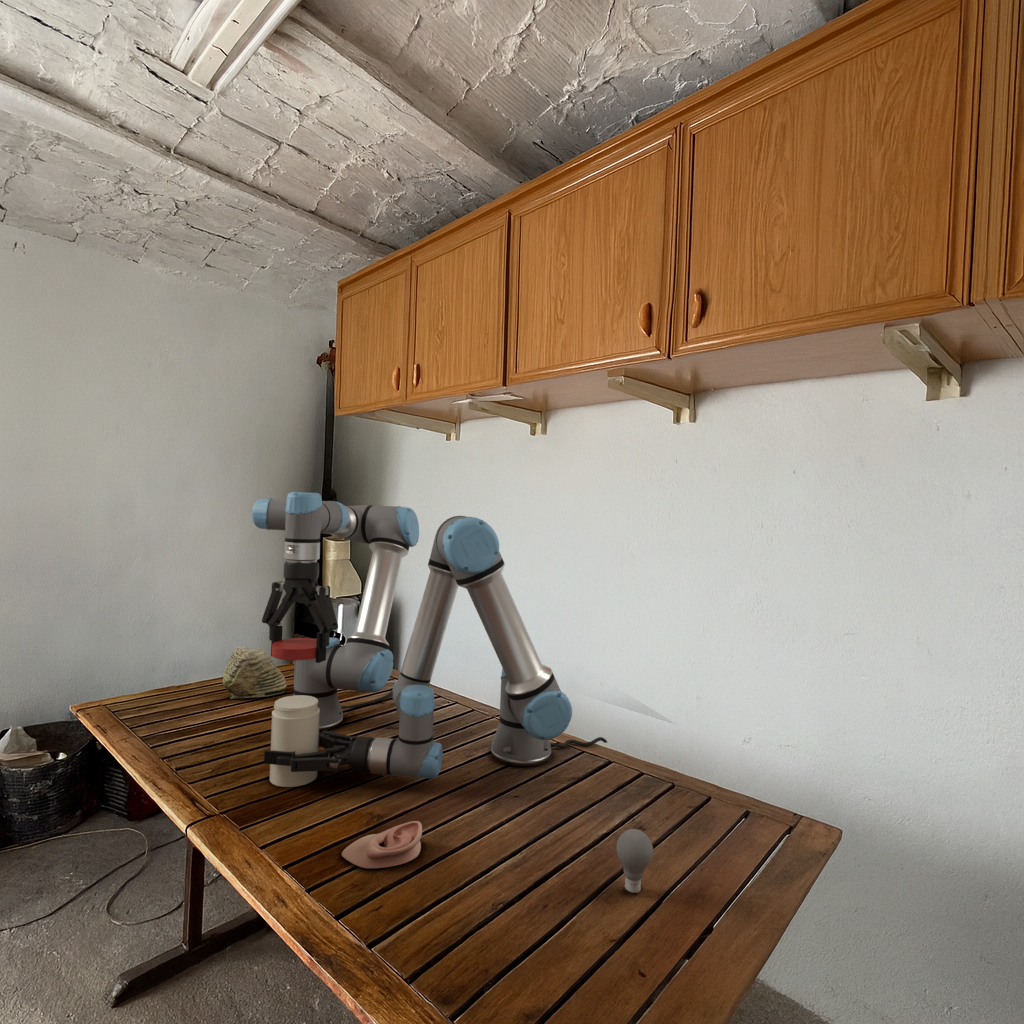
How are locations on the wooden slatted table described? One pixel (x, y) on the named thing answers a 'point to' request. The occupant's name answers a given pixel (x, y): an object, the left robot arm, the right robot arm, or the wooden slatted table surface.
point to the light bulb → (634, 857)
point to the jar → (294, 736)
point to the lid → (294, 649)
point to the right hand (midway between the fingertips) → (276, 747)
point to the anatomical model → (386, 847)
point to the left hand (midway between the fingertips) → (298, 658)
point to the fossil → (252, 674)
